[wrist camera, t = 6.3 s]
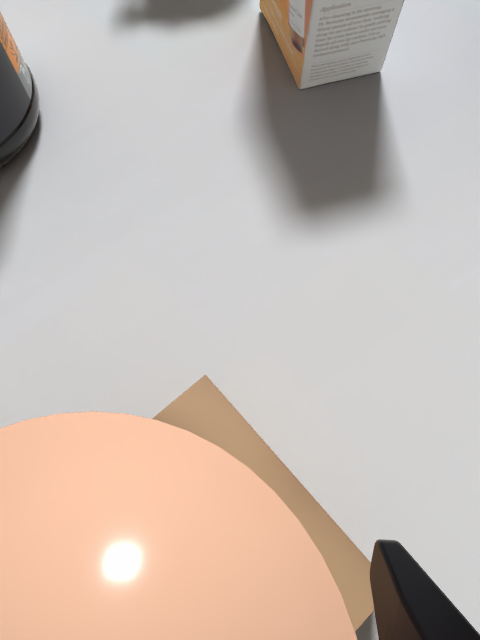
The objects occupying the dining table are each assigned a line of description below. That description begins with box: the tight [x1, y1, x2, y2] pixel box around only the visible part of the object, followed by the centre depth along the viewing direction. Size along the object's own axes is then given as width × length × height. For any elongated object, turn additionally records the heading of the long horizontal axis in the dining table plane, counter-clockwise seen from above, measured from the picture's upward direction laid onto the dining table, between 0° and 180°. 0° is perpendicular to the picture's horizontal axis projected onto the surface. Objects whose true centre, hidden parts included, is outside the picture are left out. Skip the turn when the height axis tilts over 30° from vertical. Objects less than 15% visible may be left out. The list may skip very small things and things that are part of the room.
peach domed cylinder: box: [0, 412, 357, 640], centre depth 10 cm, size 7×7×12 cm
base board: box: [153, 375, 374, 631], centre depth 17 cm, size 10×10×2 cm
